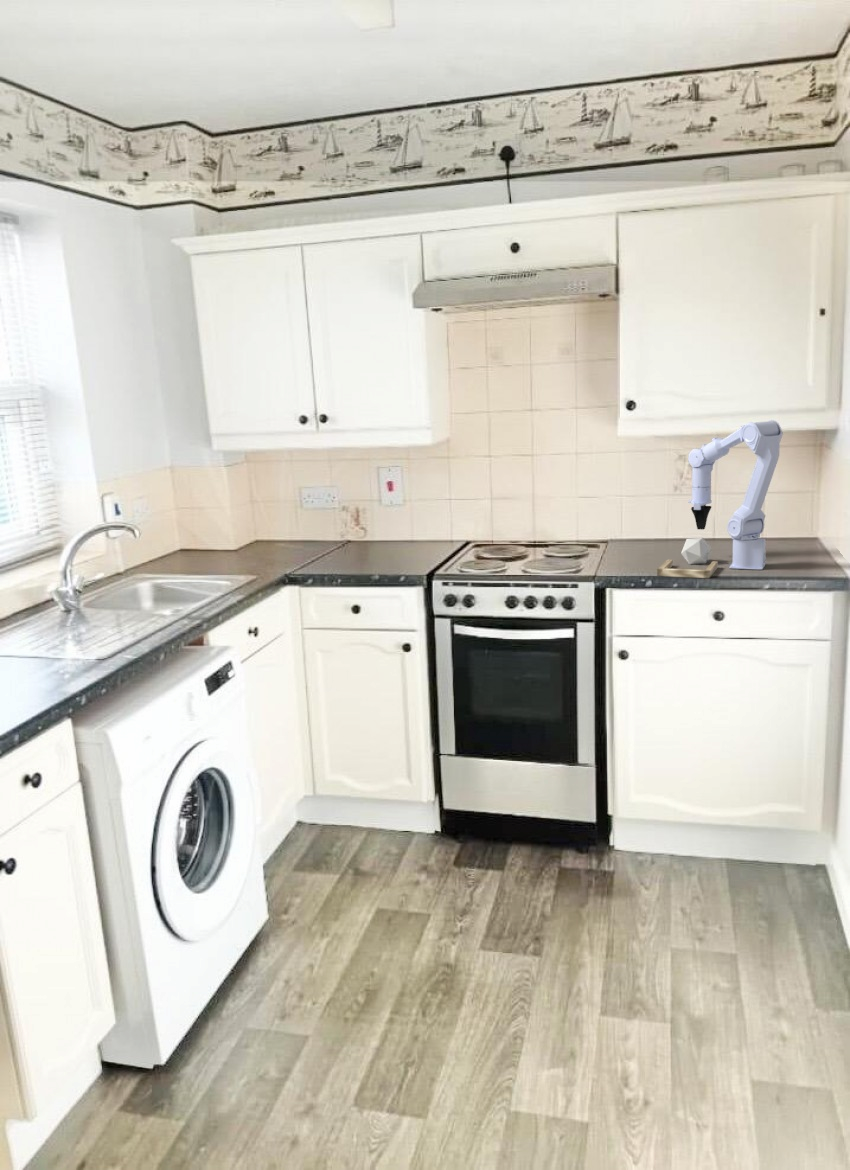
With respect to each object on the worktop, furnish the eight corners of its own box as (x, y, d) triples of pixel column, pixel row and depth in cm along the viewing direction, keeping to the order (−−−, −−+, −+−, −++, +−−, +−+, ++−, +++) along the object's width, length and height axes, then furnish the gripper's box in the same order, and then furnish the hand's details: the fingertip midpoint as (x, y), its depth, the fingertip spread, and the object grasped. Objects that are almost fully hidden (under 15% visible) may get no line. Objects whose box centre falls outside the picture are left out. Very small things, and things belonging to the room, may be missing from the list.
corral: (717, 567, 275) (717, 561, 275) (709, 578, 263) (709, 571, 262) (667, 565, 282) (667, 559, 281) (657, 575, 269) (657, 569, 269)
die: (705, 568, 278) (719, 541, 279) (680, 555, 278) (694, 528, 280) (698, 572, 286) (711, 546, 287) (673, 560, 287) (686, 533, 288)
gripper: (693, 483, 294) (692, 525, 297) (684, 489, 281) (683, 532, 284) (715, 483, 290) (714, 525, 293) (707, 489, 278) (706, 533, 281)
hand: (701, 529), depth 288 cm, fingers closed
